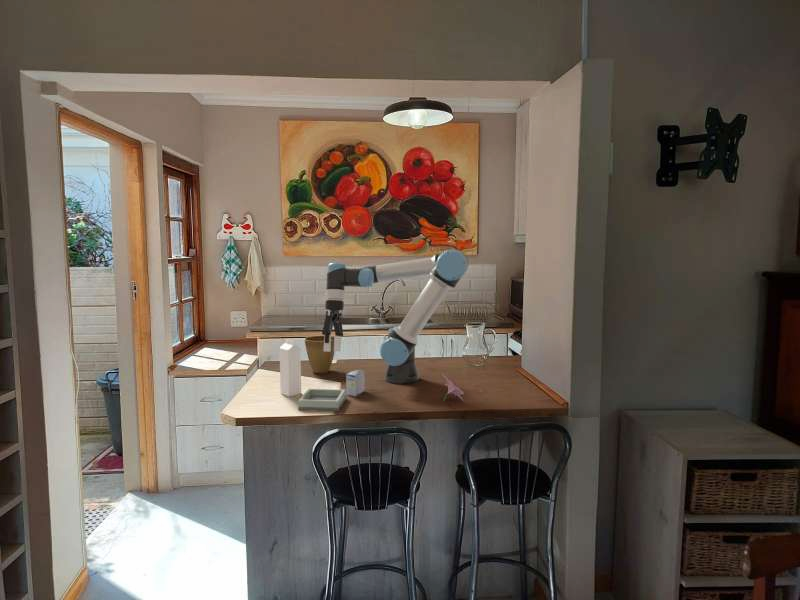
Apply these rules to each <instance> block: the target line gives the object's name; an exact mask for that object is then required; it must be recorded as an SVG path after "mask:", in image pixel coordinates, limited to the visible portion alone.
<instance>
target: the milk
mask: <svg viewBox="0 0 800 600" xmlns="http://www.w3.org/2000/svg"><path fill="white" fill-rule="evenodd" d="M284 342H285V343H283V344H282V345H281V346H280V347H279V348H278V349H279V380H280V382H279V383H280V394H281V395H283V394H284V396H285V397H286V396H287V397H292V396H297V395H300V393H301V394H302V370H301V369H302V363H301V361H302V360H301V347H299V346H298V345H295V340H291V339H288V338H286V339H285V341H284ZM296 394H297V395H296Z"/></svg>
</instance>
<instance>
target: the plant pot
mask: <svg viewBox="0 0 800 600" xmlns="http://www.w3.org/2000/svg"><path fill="white" fill-rule="evenodd" d="M304 343H305V344H304V345H305V350H306V355H307V358H308V362H309V365H310V367H311V370H312V372H313V373H315V374H326V373H329V371H330V369H331V366H332V363H333V360H334V356H335V352H336V351H334V336H333V335H331V351H330V352H327V351H323V350H324V335H314V336H313V335H312V336H308V337H304Z"/></svg>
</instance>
